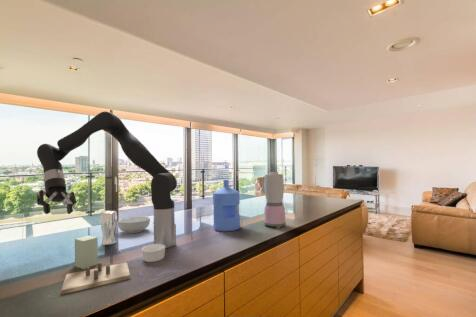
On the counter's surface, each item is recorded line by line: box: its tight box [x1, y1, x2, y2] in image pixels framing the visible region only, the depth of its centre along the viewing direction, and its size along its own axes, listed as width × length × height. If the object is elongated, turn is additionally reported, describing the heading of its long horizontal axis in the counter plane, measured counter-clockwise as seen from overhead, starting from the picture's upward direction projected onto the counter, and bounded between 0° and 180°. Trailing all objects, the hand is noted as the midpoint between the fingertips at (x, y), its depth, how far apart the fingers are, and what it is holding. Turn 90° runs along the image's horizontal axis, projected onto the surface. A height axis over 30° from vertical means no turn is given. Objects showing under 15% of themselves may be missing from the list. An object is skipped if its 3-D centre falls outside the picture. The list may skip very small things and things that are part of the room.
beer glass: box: [100, 210, 118, 246], centre depth 114 cm, size 7×7×15 cm
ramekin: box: [141, 243, 166, 263], centre depth 93 cm, size 9×9×4 cm
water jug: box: [212, 179, 241, 232], centre depth 137 cm, size 16×16×28 cm
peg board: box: [60, 261, 131, 295], centre depth 77 cm, size 18×12×4 cm, turn 120°
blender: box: [261, 171, 287, 229], centre depth 141 cm, size 16×12×32 cm
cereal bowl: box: [117, 216, 151, 234], centre depth 134 cm, size 17×17×7 cm
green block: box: [74, 235, 99, 270], centre depth 88 cm, size 6×5×10 cm
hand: (59, 213), depth 101 cm, fingers open, 8 cm apart
